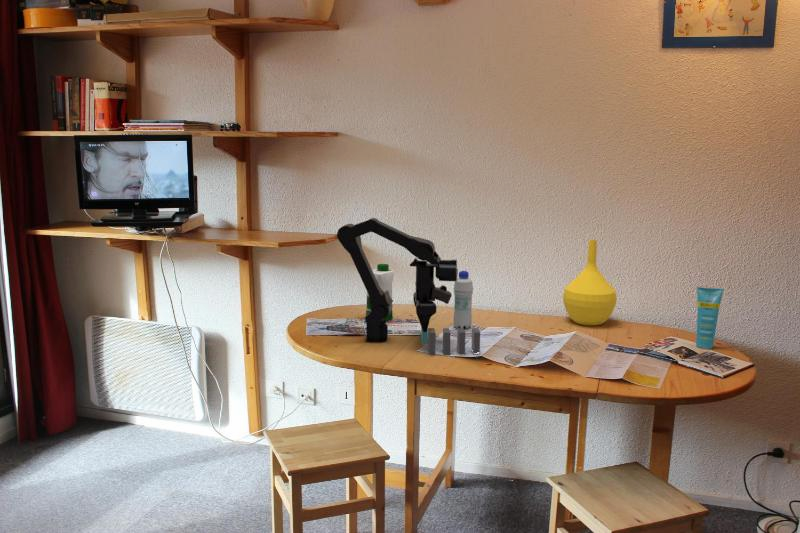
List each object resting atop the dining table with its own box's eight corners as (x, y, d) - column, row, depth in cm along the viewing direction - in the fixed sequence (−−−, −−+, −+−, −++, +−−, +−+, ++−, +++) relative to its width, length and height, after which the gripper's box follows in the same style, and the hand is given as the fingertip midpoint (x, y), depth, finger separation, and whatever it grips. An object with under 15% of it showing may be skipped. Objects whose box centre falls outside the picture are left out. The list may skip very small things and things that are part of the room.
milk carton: (396, 319, 244) (396, 265, 241) (379, 324, 238) (379, 268, 234) (378, 315, 250) (378, 262, 246) (361, 320, 243) (361, 265, 240)
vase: (625, 324, 240) (631, 241, 235) (591, 332, 230) (596, 245, 224) (585, 313, 255) (589, 234, 249) (551, 320, 245) (555, 238, 239)
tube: (692, 347, 213) (698, 288, 209) (691, 343, 217) (696, 285, 214) (718, 350, 211) (724, 289, 207) (716, 345, 215) (722, 286, 212)
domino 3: (444, 355, 205) (444, 332, 203) (442, 349, 210) (442, 328, 208) (450, 354, 205) (450, 332, 203) (448, 349, 210) (448, 328, 208)
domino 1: (421, 344, 215) (422, 323, 214) (421, 339, 220) (421, 318, 219) (427, 344, 215) (427, 323, 214) (426, 339, 220) (426, 318, 219)
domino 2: (429, 355, 205) (429, 332, 203) (428, 350, 209) (428, 328, 208) (435, 355, 205) (435, 332, 203) (433, 350, 210) (434, 328, 208)
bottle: (471, 330, 231) (472, 273, 227) (451, 329, 232) (452, 272, 229) (473, 325, 238) (474, 269, 234) (454, 324, 239) (455, 268, 235)
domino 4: (458, 354, 205) (459, 332, 204) (457, 349, 210) (457, 328, 208) (464, 354, 205) (465, 332, 204) (462, 349, 210) (463, 328, 209)
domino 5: (473, 354, 205) (474, 332, 204) (471, 349, 210) (472, 328, 209) (479, 354, 205) (480, 332, 204) (477, 349, 210) (477, 328, 209)
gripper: (453, 286, 205) (452, 336, 208) (447, 274, 224) (446, 320, 226) (416, 286, 205) (416, 336, 208) (413, 274, 223) (412, 320, 226)
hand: (424, 327), depth 217 cm, fingers open, 9 cm apart
